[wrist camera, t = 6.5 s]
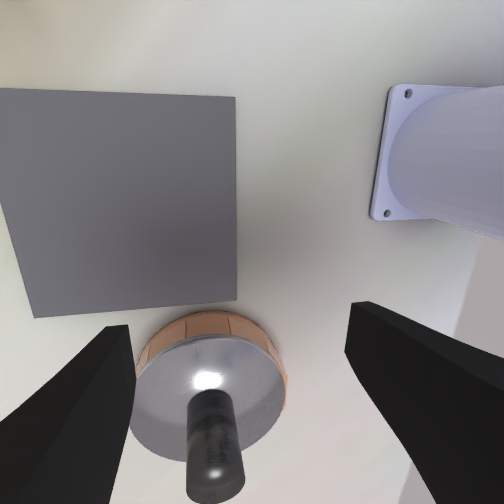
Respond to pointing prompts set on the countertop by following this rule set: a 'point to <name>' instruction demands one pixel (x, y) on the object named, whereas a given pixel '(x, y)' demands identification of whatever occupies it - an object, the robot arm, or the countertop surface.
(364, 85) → the countertop surface
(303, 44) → the countertop surface
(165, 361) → the lid
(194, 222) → the mat
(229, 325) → the bowl
